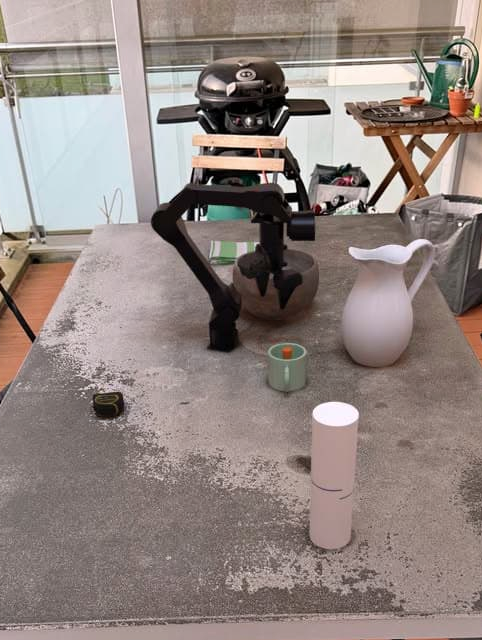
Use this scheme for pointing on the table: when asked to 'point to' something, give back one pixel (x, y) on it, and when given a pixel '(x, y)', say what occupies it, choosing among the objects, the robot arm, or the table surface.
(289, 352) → the marker
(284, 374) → the green handled mug
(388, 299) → the pitcher
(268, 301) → the bowl
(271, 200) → the robot arm
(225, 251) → the dish towel
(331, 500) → the cylindrical container
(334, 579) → the table surface
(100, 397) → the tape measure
